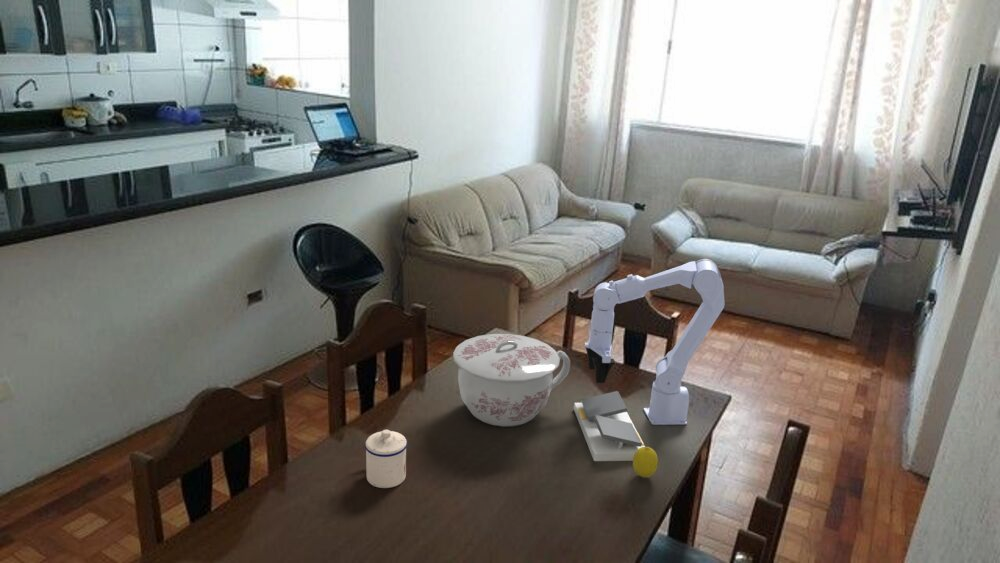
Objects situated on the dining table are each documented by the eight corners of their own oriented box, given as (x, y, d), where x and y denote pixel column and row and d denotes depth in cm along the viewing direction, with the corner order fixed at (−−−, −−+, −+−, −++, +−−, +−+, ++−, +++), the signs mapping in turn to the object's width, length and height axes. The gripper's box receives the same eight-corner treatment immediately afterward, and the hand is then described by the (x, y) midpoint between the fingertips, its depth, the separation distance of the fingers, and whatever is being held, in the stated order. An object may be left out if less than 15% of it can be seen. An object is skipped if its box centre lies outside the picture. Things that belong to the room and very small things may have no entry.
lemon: (655, 486, 156) (660, 455, 154) (630, 482, 157) (634, 451, 155) (655, 472, 162) (659, 442, 159) (631, 468, 163) (635, 438, 160)
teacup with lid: (414, 481, 154) (414, 435, 150) (376, 494, 149) (376, 447, 145) (389, 454, 163) (388, 410, 159) (352, 466, 158) (351, 421, 154)
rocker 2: (628, 428, 175) (631, 422, 175) (639, 450, 166) (642, 444, 166) (592, 419, 173) (594, 413, 173) (601, 441, 164) (603, 435, 164)
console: (620, 408, 188) (622, 398, 187) (647, 460, 166) (649, 448, 165) (573, 409, 187) (574, 398, 186) (594, 461, 164) (595, 449, 163)
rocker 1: (618, 395, 185) (617, 390, 185) (628, 414, 176) (627, 408, 176) (581, 404, 185) (580, 399, 185) (589, 423, 176) (588, 418, 176)
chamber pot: (432, 424, 176) (434, 350, 169) (476, 379, 200) (479, 312, 193) (537, 452, 167) (543, 375, 160) (570, 401, 191) (576, 332, 184)
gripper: (580, 317, 187) (575, 363, 192) (593, 340, 173) (588, 388, 178) (605, 317, 188) (600, 363, 192) (620, 340, 174) (615, 388, 179)
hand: (596, 375), depth 185 cm, fingers open, 7 cm apart
